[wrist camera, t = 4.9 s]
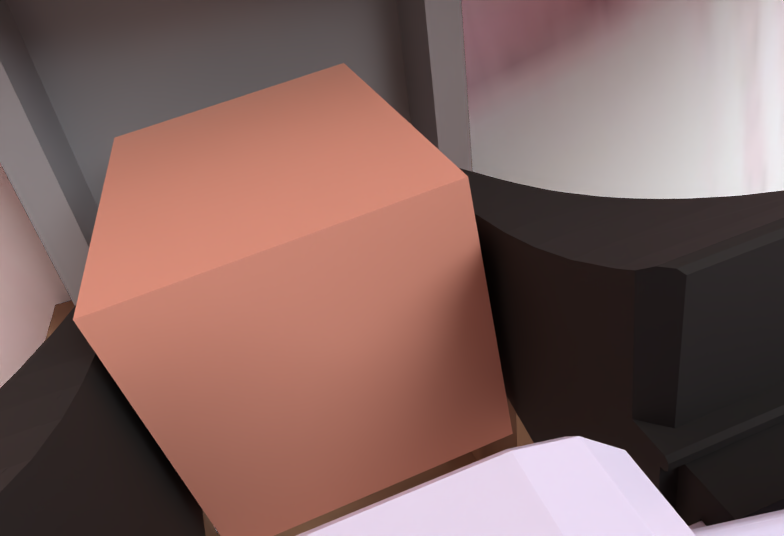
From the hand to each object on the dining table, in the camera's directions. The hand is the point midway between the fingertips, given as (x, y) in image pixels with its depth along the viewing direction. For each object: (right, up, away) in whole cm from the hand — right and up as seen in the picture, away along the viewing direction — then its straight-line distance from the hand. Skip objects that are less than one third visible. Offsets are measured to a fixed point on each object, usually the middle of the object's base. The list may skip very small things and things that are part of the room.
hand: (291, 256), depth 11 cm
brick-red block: (-1, +1, +2) cm, 2 cm away
